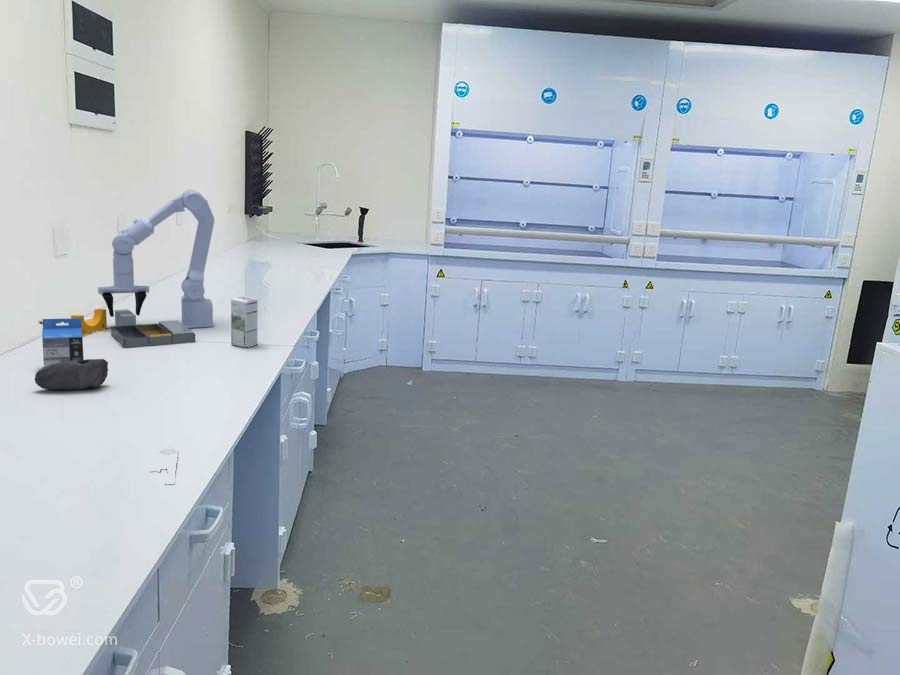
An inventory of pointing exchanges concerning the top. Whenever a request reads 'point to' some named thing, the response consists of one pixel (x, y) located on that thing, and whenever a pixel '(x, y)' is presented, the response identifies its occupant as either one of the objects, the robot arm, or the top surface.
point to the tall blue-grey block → (124, 317)
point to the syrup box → (244, 321)
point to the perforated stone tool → (73, 375)
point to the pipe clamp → (93, 322)
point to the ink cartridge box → (62, 341)
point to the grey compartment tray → (152, 334)
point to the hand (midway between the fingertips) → (124, 315)
